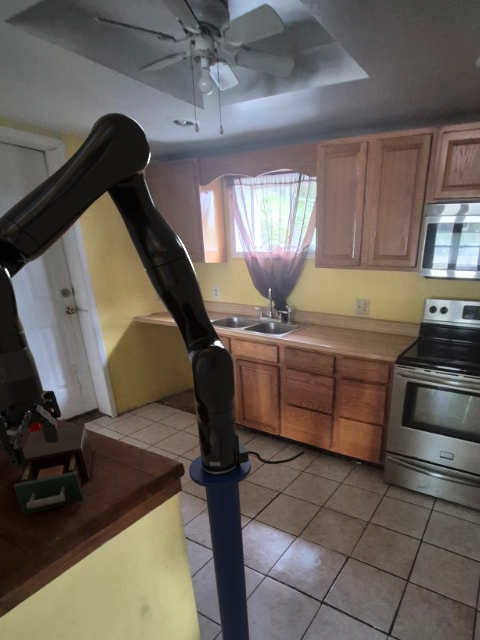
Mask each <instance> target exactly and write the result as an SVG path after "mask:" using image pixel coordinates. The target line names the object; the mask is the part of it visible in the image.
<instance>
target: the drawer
mask: <svg viewBox="0 0 480 640" xmlns="http://www.w3.org/2000/svg"><path fill="white" fill-rule="evenodd" d="M60 465H64V468H65V471H66V473H65V474H60V475H55V476H50V477H45V478H41V479H37V478H38V475H39V471H40V470H41V469H45V468H50V467H55V466H60ZM82 471H83V470H82V466H81V462H80V459H79V455H78V452H75V453H70V454H65V455H59V456H54V457H49V458H44V459H38V460H33V461H28V463H27V466H26V469H25V471H24V474H23V473H22V477H21V482H17V483H14V486H13V489H14V491H15V494H16V497H17V500H18V502H19V505H20V507H21V510H22V514H23V516H27V515H30V514H34V513H35V514H36V513H38V512H42V511H48V510H52V509H55V508H59V507H65V506H68V505H72V504H76V503H81V502H84V495H83V491H82V488H81V487H82V482H81V479H82Z"/></svg>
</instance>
